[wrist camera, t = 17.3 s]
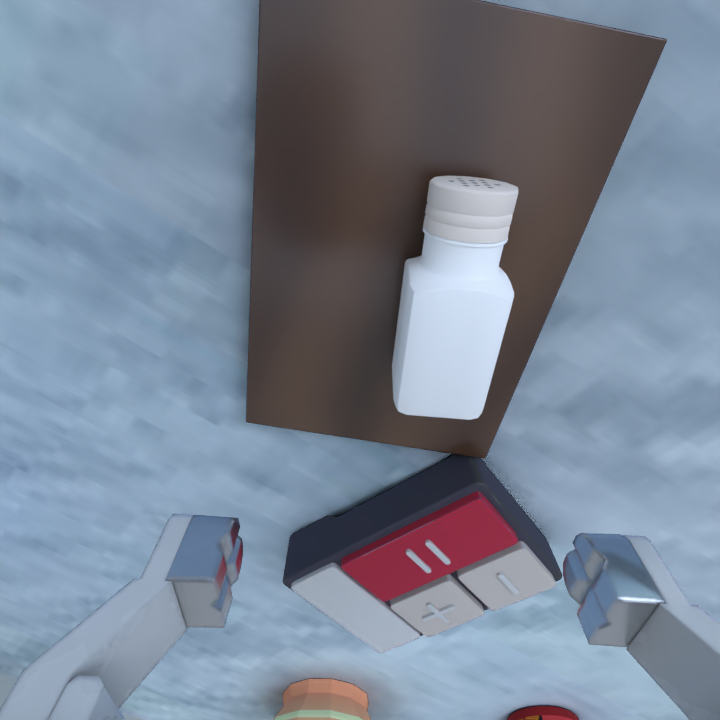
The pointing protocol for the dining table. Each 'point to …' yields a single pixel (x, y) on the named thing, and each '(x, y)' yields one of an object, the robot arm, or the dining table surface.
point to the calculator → (422, 556)
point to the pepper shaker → (454, 300)
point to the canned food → (543, 714)
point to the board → (414, 188)
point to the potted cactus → (323, 701)
